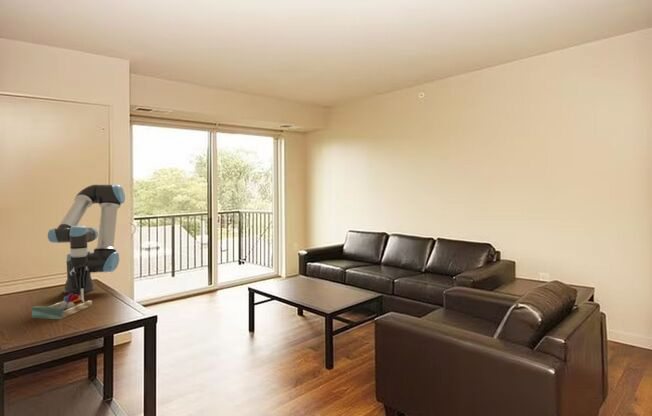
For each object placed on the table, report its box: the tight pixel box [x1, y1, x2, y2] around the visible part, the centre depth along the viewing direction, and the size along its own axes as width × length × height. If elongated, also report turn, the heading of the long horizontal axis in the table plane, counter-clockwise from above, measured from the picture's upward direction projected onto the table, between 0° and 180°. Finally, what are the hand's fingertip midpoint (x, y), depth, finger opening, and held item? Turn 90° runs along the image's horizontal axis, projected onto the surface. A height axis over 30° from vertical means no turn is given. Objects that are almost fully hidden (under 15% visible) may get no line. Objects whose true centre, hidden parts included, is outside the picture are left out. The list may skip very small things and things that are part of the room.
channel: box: [31, 300, 93, 320], centre depth 189 cm, size 21×14×5 cm
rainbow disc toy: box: [60, 293, 85, 310], centre depth 194 cm, size 8×10×7 cm
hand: (80, 300), depth 200 cm, fingers closed
